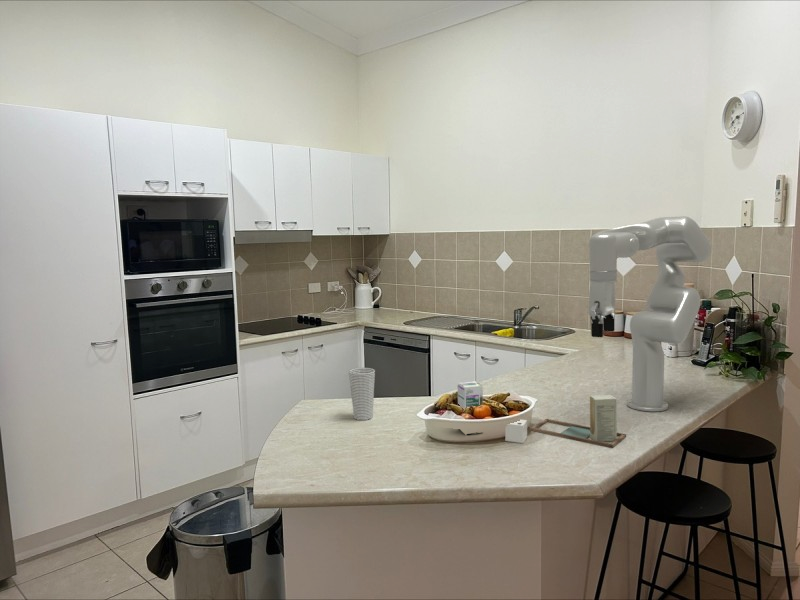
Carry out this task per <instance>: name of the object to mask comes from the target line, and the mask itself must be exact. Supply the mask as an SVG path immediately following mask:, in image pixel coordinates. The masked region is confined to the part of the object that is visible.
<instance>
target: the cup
mask: <svg viewBox="0 0 800 600" xmlns="http://www.w3.org/2000/svg"><path fill="white" fill-rule="evenodd" d="M348 376H349V377H348V378H349V385H350V387H349V388H350V392H351V393H350V395H351V403H352V404H351V405H352V410H353V412H352V413H353V417H354V419H355V420H356V419H357V421H369V420H371V419H373V413H374V398H375V378H376V377H375V376H376V369H374V368H371V367H354V368H351V369H349V370H348ZM368 419H369V420H368Z"/></svg>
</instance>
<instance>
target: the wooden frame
mask: <svg viewBox="0 0 800 600" xmlns="http://www.w3.org/2000/svg"><path fill="white" fill-rule="evenodd" d="M549 423H550V424H554V425H559V426H563V427H564V426H565V427H567V428H566V429H565V430H563V431H561V432H556V431H552V430H548V429H542V428H540V427H542V426H544V425H546V424H549ZM530 432H535V433H541V434H545V435H549V436H555V437H559V438H563V439H567V440H568V439H569V440H573V441H577V442H582V443H587V444H592V445H596V446H601V447H605V448H610V449H613V448H614V447H617V445H618V444H620V443H621V442H622V441H623V440H624V439H626V438H627V434H626V433H621V432H617V439H616V440H615V441H611V442H610V443H608V442H606V441H603V442H600V441H595V440H593V439H589V437H590V426H586V425H581V424H576V423H571V422H566V421H560V420H556V419H555V420H554V419H550V418H545V419H543V420H541V421H540V422H538V423H537V424H535V425H533V426H532V427H530ZM590 438H591V437H590Z"/></svg>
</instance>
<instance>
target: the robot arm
mask: <svg viewBox="0 0 800 600" xmlns="http://www.w3.org/2000/svg"><path fill="white" fill-rule="evenodd" d="M588 243H589V244H588V247H589V253H588V254H589V258H588V259H589V283H590V285H589V292H588V293H589V294H588V315H589V316H590V323H591V324H590V326H591V329H590V330H591V333H590V335H591V337H593V338H603V337H604V332H612V333H613V332H615V330H616V329H615V319H616V318H615V316H616V315H615V311H616V287H615V286H616V285H615V283H616V282H617V280H618V278H617V275H618V273H617V267H618V265H617V260H618V259H619V258H622V259H624V258H626V259H627V258H631V257H633V256H635V255H636V254H637V253H638V251H646V250H649V249H653V248H655V256H656V261H657V268H658V275H657V277H656V280H655V282H654V283H653V286H652V287H651V290H650V292H649V294H648V296H647V299H646V307H647V309H648V310H641V311H637V312H635V313H633V315H632V316H631V318H630V322H629V329H630V335H631V341H632V371H631V373H632V378H631V380H632V381H631V398H629V399H627V400H626V405H627V406H628V407H629V408H631V409H633V410H638V411H642V412H643V411H644V412H653V413H655V412H663V411H667V410H668V409H669V404H668V402H666V401H664V390H665V389H664V386H665V385H664V384H665V381H664V380H665V352H664V350H663V347H662V345H661V343H665V344H672V345H673V344H674V345H676V344H677V345H678V344H682V343H683V342H684V341H685V340H686V339H687V338H688V336H689V333H690V331H691V329H692V327H693V324H694V322H695V321H696V318H697V316H698V313H699V311H700V307H701V295H700V292H699V291H698V290H697V289H695V287H691V286H684V285H685V283H686V276H685V273H684V272H683V270H682V268H681V267H680V266H679V264H678V263H701V262H704V261H707V260H708V258H709V257H710V256H711V255H710V254H711V250H712V248H711V247H712V246H711V243H710V240H709V238H708V237H707V235H706V233H704V231H703V230H702V229H701V227H700V226H699V225H698V224H697V222H696V221H695V220H693V218H691V217H689V216H663V217H657V218H654V219H650V220H647V221H643V222H640V223H635V224H630V225H624V226H621V227H614V228H609V229H604V230H601V231H597V232H596V233H595V234H593V235H591V236H590V237H589V241H588Z"/></svg>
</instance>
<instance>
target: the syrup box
mask: <svg viewBox="0 0 800 600" xmlns="http://www.w3.org/2000/svg"><path fill="white" fill-rule="evenodd" d="M456 386H457V405H458V404H459V405H460V406H461V407H462V408H463V409H465V408H467V407H470V406H479V405H481V404H483V405H484V403H483V402H484V401H483V396H484V394H483V392H484V391H483V385H482V384H481V383H480V382H478V381H475V380H474V381H467V382H457V385H456Z"/></svg>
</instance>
